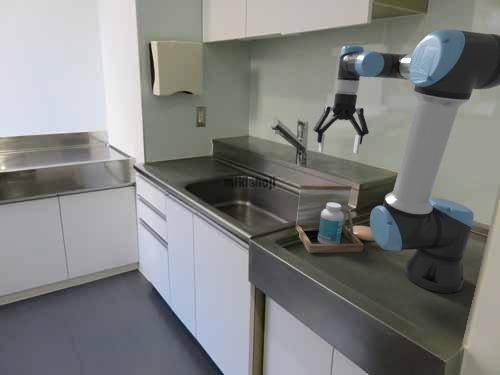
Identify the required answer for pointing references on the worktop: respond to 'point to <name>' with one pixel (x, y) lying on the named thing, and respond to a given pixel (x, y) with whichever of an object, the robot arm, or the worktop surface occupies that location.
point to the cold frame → (310, 213)
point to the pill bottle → (331, 224)
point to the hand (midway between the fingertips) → (338, 152)
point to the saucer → (363, 233)
